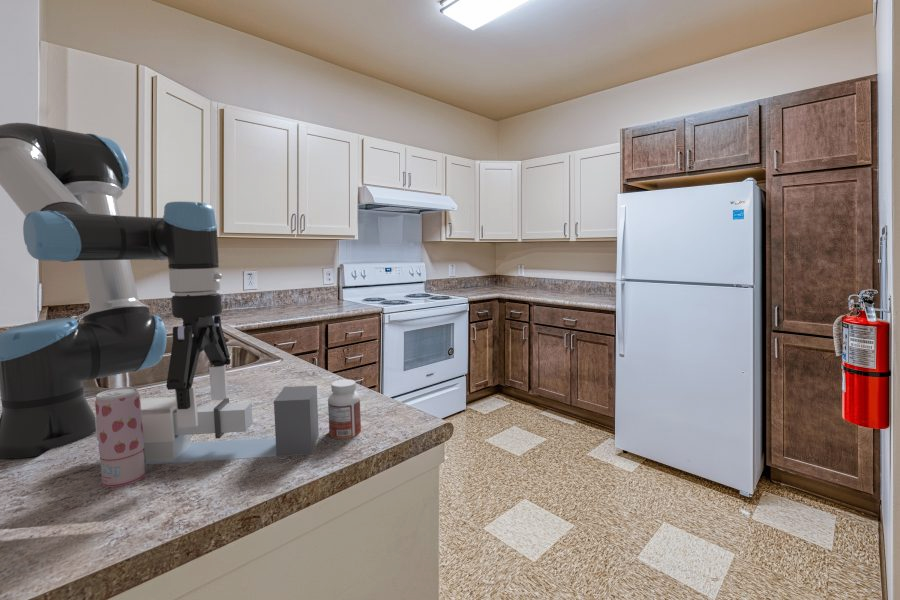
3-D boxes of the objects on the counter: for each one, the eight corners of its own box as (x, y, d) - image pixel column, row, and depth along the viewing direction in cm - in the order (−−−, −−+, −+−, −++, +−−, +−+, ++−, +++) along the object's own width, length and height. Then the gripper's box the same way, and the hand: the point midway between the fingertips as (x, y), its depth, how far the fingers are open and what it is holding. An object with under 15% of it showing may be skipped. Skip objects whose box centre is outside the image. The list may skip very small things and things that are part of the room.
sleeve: (116, 464, 74) (112, 411, 73) (138, 447, 81) (134, 398, 80) (174, 460, 75) (170, 408, 74) (191, 444, 82) (187, 395, 81)
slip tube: (94, 445, 74) (91, 414, 73) (114, 432, 79) (111, 403, 79) (244, 436, 77) (243, 407, 77) (253, 424, 83) (252, 397, 82)
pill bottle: (349, 427, 92) (348, 376, 91) (367, 436, 88) (366, 382, 87) (323, 436, 87) (321, 382, 86) (340, 446, 83) (338, 389, 82)
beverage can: (93, 489, 68) (84, 396, 66) (128, 472, 74) (121, 385, 72) (121, 495, 67) (112, 399, 65) (155, 476, 72) (148, 388, 70)
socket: (276, 456, 77) (273, 401, 76) (286, 437, 85) (284, 386, 84) (311, 453, 78) (309, 399, 77) (318, 435, 86) (316, 385, 85)
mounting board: (114, 472, 74) (114, 466, 73) (141, 450, 81) (140, 445, 81) (311, 459, 78) (311, 453, 78) (318, 440, 86) (318, 435, 86)
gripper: (187, 299, 64) (198, 439, 66) (242, 287, 89) (249, 389, 91) (131, 301, 63) (144, 442, 65) (203, 288, 88) (210, 391, 90)
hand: (205, 412), depth 78 cm, fingers open, 13 cm apart
